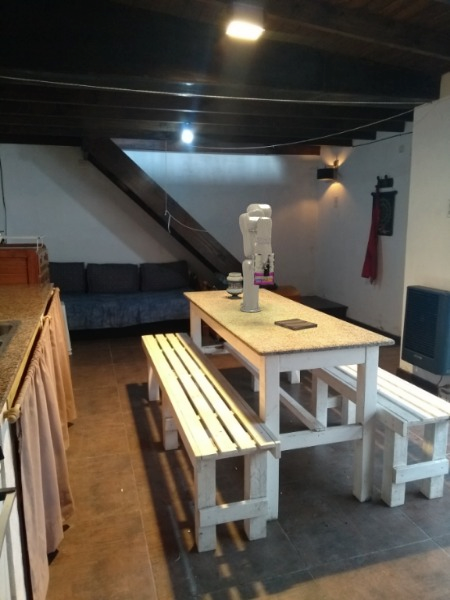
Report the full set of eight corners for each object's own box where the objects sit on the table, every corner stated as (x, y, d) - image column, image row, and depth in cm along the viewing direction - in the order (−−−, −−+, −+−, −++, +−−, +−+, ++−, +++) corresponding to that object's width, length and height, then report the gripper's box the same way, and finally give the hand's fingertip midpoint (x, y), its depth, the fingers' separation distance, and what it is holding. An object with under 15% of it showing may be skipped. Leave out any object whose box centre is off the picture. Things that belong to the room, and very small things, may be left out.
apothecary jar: (224, 297, 317) (224, 272, 314) (240, 296, 321) (240, 272, 317) (229, 300, 306) (229, 274, 303) (245, 299, 309) (246, 274, 306)
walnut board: (274, 324, 236) (274, 321, 236) (296, 320, 245) (296, 318, 245) (294, 330, 223) (294, 327, 223) (317, 326, 232) (317, 324, 232)
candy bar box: (270, 283, 238) (271, 252, 235) (273, 284, 233) (275, 253, 230) (250, 283, 235) (251, 253, 232) (253, 285, 230) (254, 254, 227)
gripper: (248, 240, 235) (247, 274, 238) (268, 242, 221) (267, 278, 224) (259, 240, 239) (258, 273, 242) (280, 242, 225) (278, 277, 228)
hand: (262, 275), depth 233 cm, fingers closed on candy bar box, 6 cm apart
